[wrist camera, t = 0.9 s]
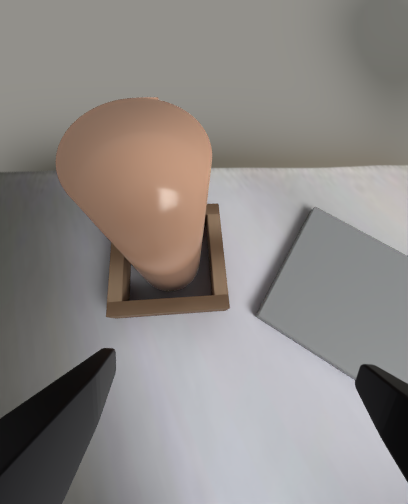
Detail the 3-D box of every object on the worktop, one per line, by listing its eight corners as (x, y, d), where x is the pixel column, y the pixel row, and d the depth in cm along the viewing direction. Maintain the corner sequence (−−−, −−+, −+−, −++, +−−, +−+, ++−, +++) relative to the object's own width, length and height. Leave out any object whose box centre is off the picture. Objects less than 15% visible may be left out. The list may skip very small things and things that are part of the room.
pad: (393, 404, 20) (404, 408, 19) (255, 316, 21) (258, 315, 20) (428, 275, 24) (438, 272, 23) (310, 210, 26) (315, 206, 25)
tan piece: (201, 289, 22) (218, 216, 8) (140, 293, 22) (43, 223, 7) (196, 211, 25) (201, 57, 11) (141, 213, 25) (74, 55, 10)
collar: (225, 310, 21) (229, 308, 19) (115, 318, 21) (106, 316, 18) (215, 215, 25) (218, 203, 23) (121, 219, 24) (113, 207, 22)
